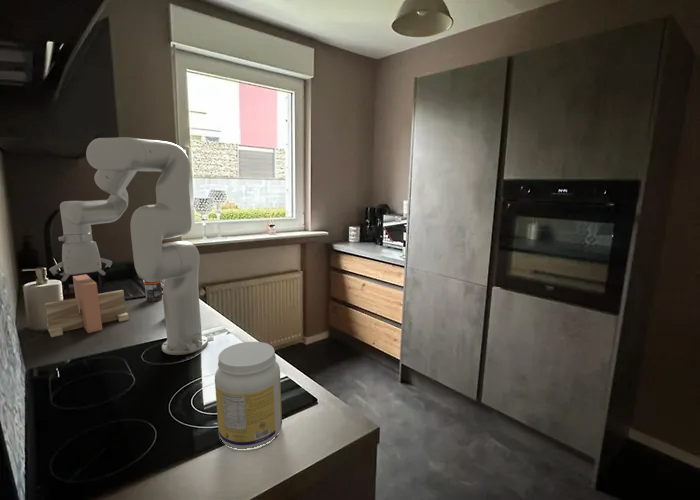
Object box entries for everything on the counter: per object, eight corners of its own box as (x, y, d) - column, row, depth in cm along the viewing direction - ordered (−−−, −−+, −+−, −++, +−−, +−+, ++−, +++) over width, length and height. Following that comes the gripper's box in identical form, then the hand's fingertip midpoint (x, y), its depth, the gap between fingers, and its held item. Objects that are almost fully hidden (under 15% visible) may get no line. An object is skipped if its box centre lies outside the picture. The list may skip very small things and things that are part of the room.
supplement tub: (237, 410, 82) (232, 337, 79) (291, 417, 80) (288, 341, 77) (205, 449, 70) (199, 365, 67) (268, 458, 68) (264, 371, 65)
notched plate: (102, 329, 126) (96, 283, 123) (88, 333, 123) (81, 285, 120) (91, 317, 137) (86, 274, 135) (78, 320, 135) (72, 276, 132)
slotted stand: (129, 319, 135) (126, 292, 133) (51, 337, 120) (46, 307, 118) (122, 314, 141) (119, 287, 139) (47, 330, 126) (43, 301, 124)
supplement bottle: (154, 297, 161) (151, 271, 159) (165, 298, 159) (163, 272, 157) (142, 301, 156) (140, 274, 153) (154, 302, 154) (151, 275, 152)
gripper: (46, 243, 116) (54, 296, 120) (111, 237, 128) (117, 286, 131) (43, 240, 122) (51, 291, 125) (106, 234, 134) (111, 282, 137)
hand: (85, 288), depth 128 cm, fingers open, 9 cm apart
